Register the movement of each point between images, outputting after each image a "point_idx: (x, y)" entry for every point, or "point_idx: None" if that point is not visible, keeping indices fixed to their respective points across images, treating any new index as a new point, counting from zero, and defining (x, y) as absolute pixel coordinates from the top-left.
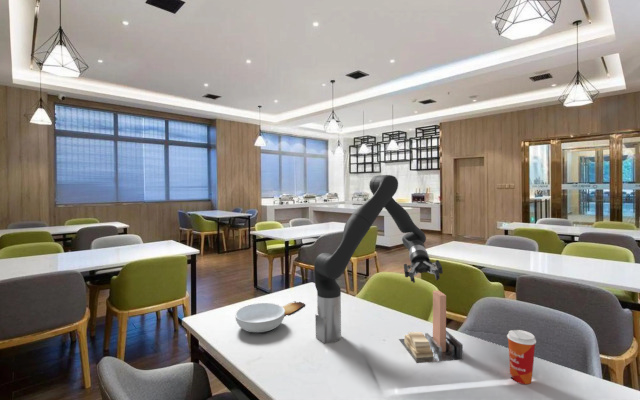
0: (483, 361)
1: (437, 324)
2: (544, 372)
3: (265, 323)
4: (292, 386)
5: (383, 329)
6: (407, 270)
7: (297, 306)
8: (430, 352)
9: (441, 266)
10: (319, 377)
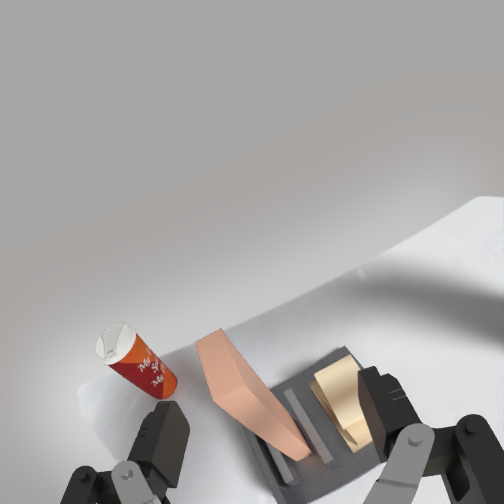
0: (202, 427)
1: (278, 405)
2: (123, 414)
3: None
4: (476, 211)
5: None
6: (467, 494)
7: None
8: (314, 380)
9: (69, 485)
10: (470, 237)
